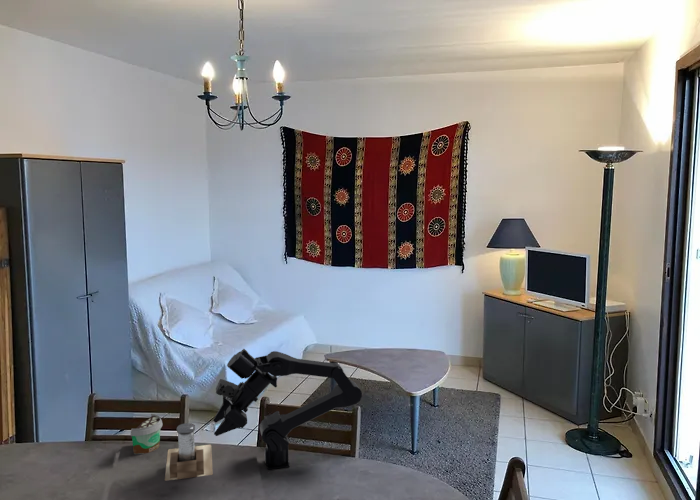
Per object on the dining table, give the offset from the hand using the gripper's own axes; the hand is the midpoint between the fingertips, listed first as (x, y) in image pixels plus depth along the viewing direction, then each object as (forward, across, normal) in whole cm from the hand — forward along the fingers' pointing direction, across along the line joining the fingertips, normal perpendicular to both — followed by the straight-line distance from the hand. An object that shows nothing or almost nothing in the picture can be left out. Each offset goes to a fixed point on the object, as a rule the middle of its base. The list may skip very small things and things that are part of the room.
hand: (214, 428), depth 164 cm
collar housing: (+15, -5, +4) cm, 16 cm away
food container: (+23, -17, -4) cm, 29 cm away
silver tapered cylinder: (+14, 0, +3) cm, 14 cm away
